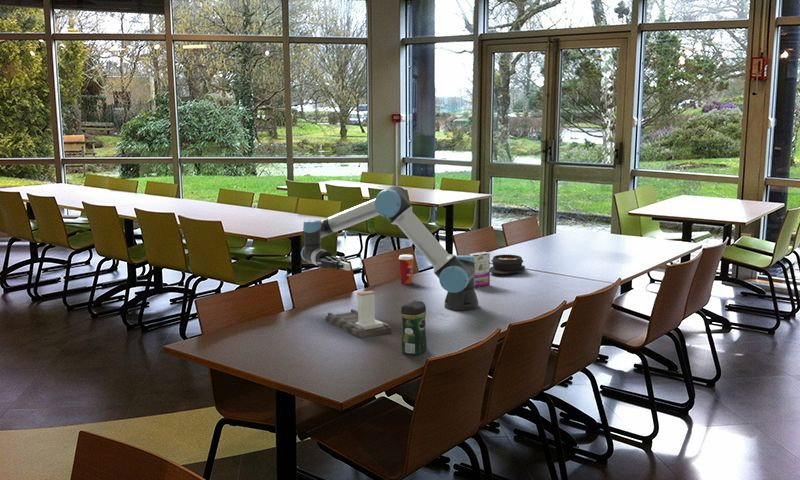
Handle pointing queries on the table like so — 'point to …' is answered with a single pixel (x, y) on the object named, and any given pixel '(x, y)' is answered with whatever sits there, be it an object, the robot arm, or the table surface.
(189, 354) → the table surface
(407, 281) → the paper cup
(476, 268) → the candy bar box
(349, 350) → the table surface
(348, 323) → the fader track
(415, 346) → the coffee jar
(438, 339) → the table surface
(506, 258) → the casserole
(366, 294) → the post
